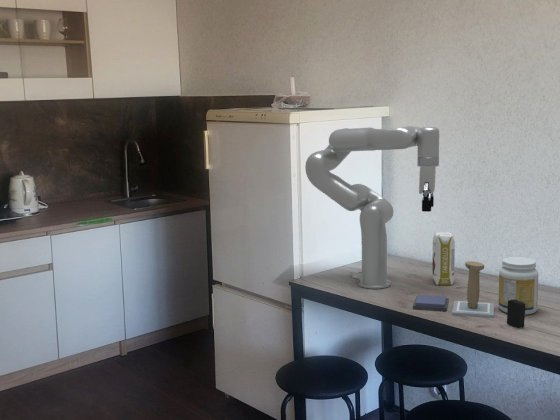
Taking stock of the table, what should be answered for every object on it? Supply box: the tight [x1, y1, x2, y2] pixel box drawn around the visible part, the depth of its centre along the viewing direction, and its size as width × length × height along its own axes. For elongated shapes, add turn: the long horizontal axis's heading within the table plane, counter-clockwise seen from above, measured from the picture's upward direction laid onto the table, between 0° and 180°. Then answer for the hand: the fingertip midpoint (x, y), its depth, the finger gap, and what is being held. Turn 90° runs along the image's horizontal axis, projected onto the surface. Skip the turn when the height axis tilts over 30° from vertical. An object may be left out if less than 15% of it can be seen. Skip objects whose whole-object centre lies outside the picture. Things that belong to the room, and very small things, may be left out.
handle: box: [464, 260, 485, 308], centre depth 223 cm, size 5×6×15 cm
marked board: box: [451, 300, 495, 318], centre depth 224 cm, size 13×13×1 cm
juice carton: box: [431, 231, 456, 286], centre depth 255 cm, size 8×9×19 cm
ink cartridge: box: [506, 299, 526, 330], centre depth 207 cm, size 5×2×8 cm, turn 29°
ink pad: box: [412, 294, 450, 312], centre depth 230 cm, size 11×11×2 cm
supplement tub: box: [498, 256, 540, 316], centre depth 221 cm, size 12×12×17 cm
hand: (427, 209), depth 243 cm, fingers open, 9 cm apart
